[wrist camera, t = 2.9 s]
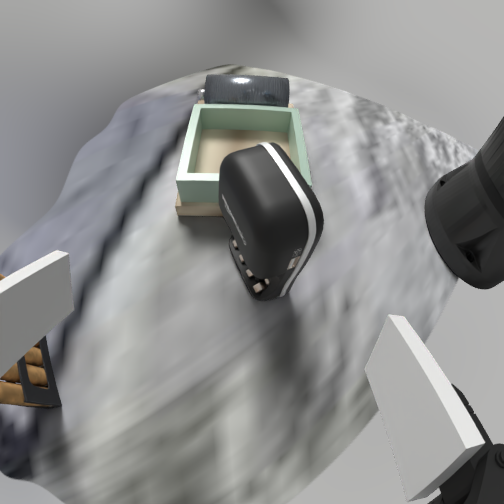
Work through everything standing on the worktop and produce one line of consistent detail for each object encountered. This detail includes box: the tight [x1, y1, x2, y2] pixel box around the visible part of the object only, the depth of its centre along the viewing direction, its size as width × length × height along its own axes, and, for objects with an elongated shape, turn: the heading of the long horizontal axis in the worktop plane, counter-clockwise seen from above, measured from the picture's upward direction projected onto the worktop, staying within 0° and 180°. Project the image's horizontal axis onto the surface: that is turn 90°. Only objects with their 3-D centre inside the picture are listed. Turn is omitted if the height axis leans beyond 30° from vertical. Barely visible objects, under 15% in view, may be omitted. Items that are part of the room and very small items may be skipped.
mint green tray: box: [175, 75, 312, 216], centre depth 27 cm, size 12×17×6 cm
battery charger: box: [218, 142, 324, 301], centre depth 19 cm, size 7×4×11 cm, turn 24°
